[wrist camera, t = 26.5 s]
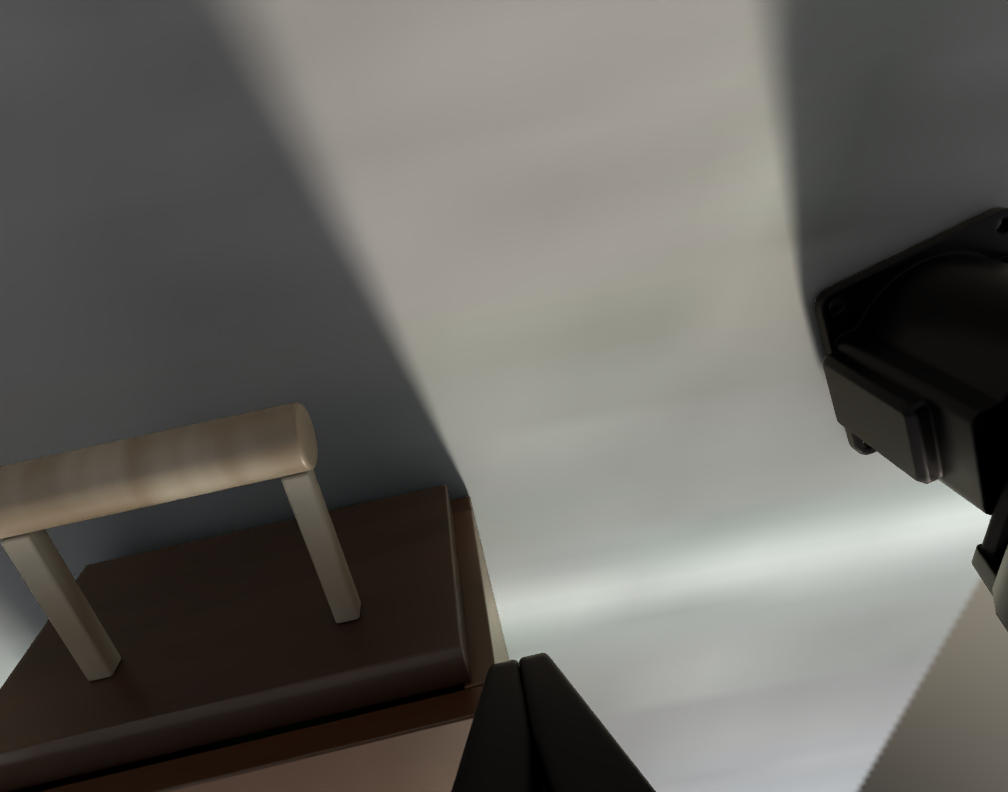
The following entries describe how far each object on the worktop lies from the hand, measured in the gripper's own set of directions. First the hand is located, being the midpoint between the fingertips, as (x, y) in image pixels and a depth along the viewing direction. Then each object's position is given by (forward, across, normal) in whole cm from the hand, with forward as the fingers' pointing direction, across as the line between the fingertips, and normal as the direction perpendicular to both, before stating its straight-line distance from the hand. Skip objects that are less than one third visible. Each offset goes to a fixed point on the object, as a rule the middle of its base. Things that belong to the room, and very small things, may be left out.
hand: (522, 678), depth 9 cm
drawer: (+11, +7, +8) cm, 15 cm away
